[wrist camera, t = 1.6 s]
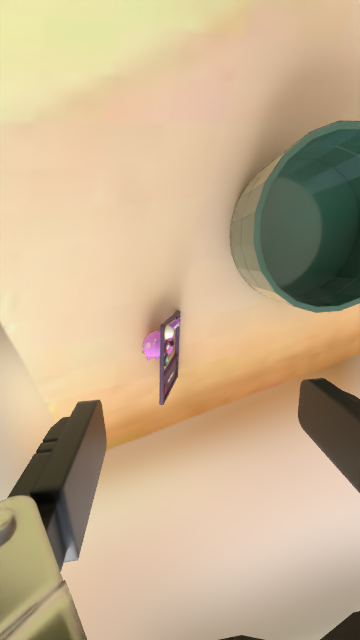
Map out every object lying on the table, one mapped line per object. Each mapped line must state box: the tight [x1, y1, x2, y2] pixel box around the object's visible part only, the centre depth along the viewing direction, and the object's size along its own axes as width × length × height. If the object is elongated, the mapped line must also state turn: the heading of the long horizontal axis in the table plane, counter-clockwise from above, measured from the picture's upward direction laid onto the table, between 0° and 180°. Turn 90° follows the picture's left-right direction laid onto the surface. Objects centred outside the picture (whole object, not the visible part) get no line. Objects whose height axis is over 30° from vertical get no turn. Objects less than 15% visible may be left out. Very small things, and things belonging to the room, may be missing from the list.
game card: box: [141, 311, 180, 405], centre depth 27 cm, size 7×5×9 cm
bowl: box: [230, 121, 360, 313], centre depth 25 cm, size 16×16×7 cm
